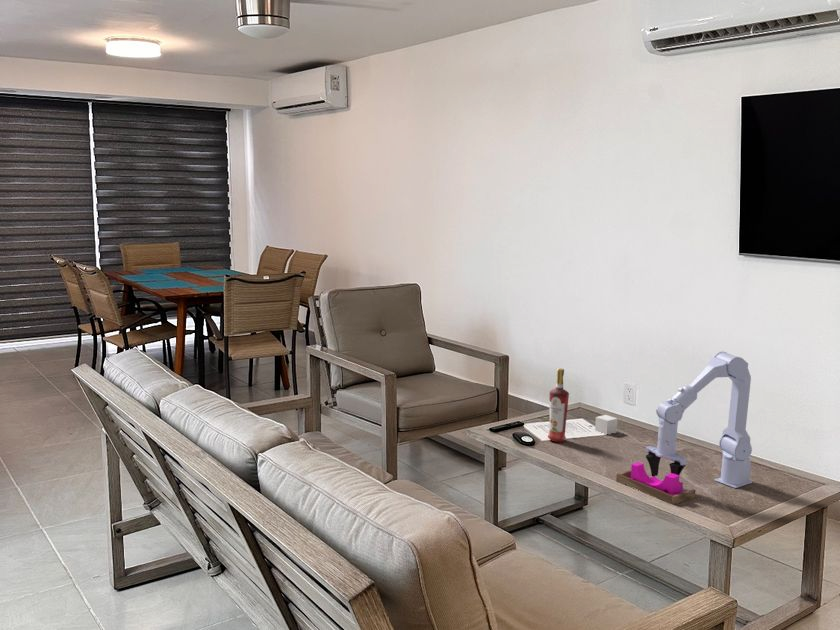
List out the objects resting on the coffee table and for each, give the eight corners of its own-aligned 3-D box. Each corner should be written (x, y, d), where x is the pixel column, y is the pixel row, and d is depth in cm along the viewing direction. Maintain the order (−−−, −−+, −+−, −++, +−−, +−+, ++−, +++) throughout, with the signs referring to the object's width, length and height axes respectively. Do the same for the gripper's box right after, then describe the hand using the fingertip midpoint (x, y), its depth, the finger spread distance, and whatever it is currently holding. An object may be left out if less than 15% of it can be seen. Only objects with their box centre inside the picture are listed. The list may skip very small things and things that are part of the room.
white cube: (616, 433, 306) (617, 418, 305) (606, 435, 302) (607, 420, 301) (604, 429, 310) (605, 414, 309) (594, 431, 307) (595, 416, 306)
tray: (638, 475, 259) (638, 468, 259) (695, 497, 241) (695, 490, 240) (616, 481, 253) (616, 473, 253) (672, 504, 235) (673, 497, 234)
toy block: (682, 496, 242) (683, 473, 241) (671, 501, 238) (672, 478, 237) (641, 482, 253) (642, 460, 252) (630, 486, 249) (631, 464, 248)
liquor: (544, 441, 293) (547, 369, 288) (550, 436, 299) (554, 366, 294) (562, 444, 289) (566, 372, 285) (569, 439, 295) (572, 368, 291)
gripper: (641, 435, 251) (638, 474, 253) (677, 447, 239) (674, 489, 241) (655, 431, 254) (652, 470, 257) (692, 444, 243) (688, 484, 245)
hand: (664, 479), depth 249 cm, fingers open, 7 cm apart
